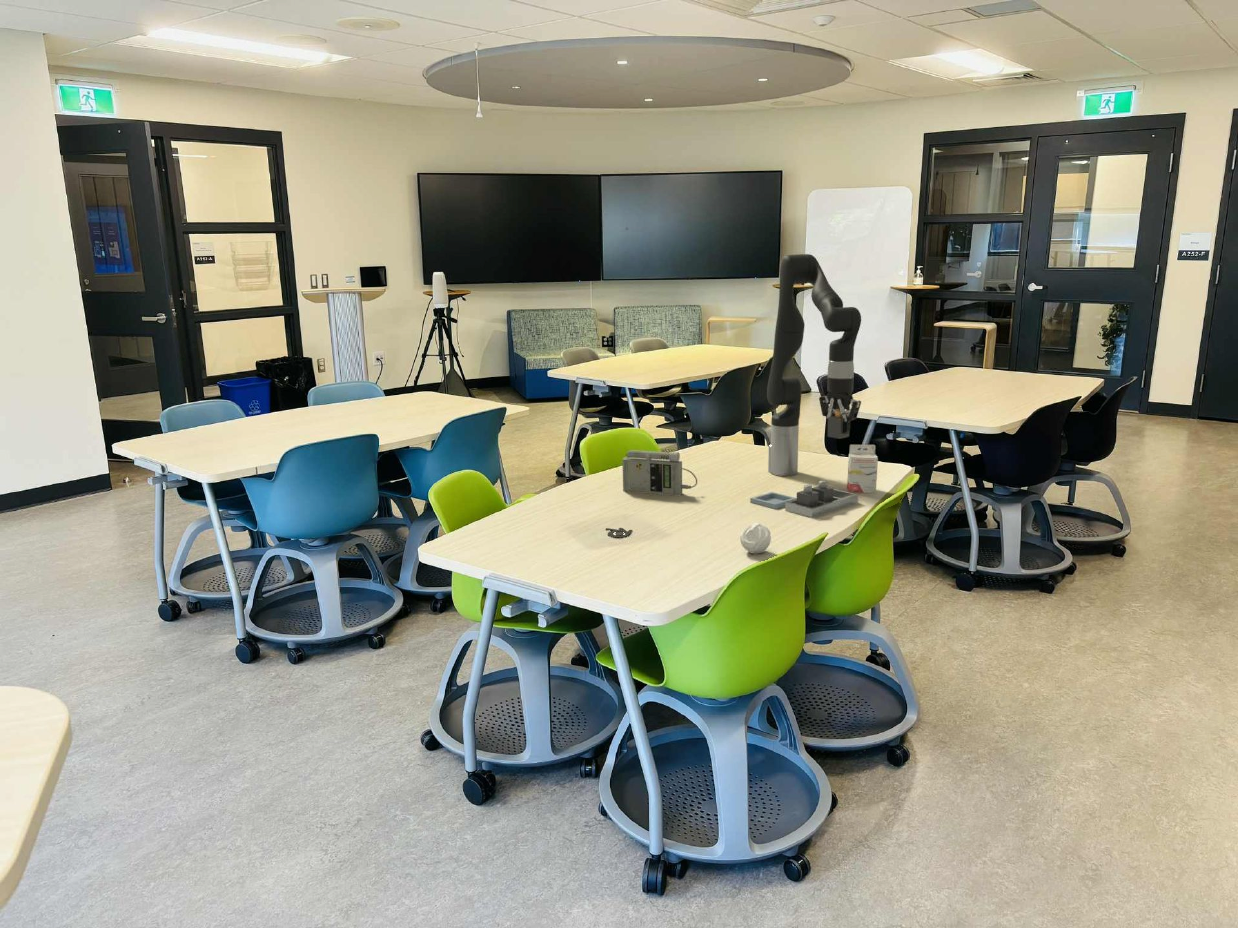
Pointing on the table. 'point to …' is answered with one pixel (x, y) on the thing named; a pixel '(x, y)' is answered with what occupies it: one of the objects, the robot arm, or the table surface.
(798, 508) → the strip
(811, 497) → the twin plug
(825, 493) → the twin plug
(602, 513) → the table surface
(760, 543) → the crumpled white ball
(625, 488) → the geiger counter
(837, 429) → the plug
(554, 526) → the table surface
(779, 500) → the tray
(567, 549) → the table surface
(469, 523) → the table surface
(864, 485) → the ink cartridge box
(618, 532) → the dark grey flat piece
